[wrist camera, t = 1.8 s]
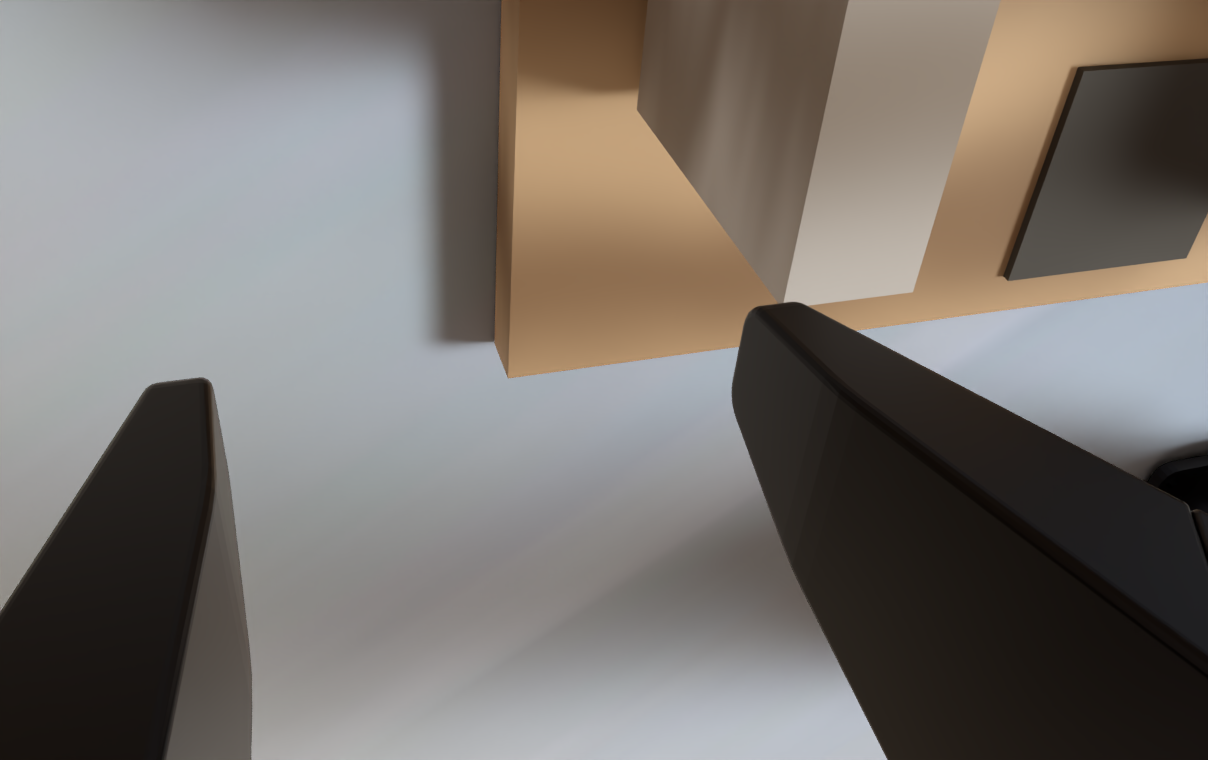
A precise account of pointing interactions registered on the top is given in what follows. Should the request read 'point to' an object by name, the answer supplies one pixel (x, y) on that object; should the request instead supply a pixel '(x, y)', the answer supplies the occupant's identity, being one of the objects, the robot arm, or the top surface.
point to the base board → (964, 217)
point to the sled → (816, 128)
